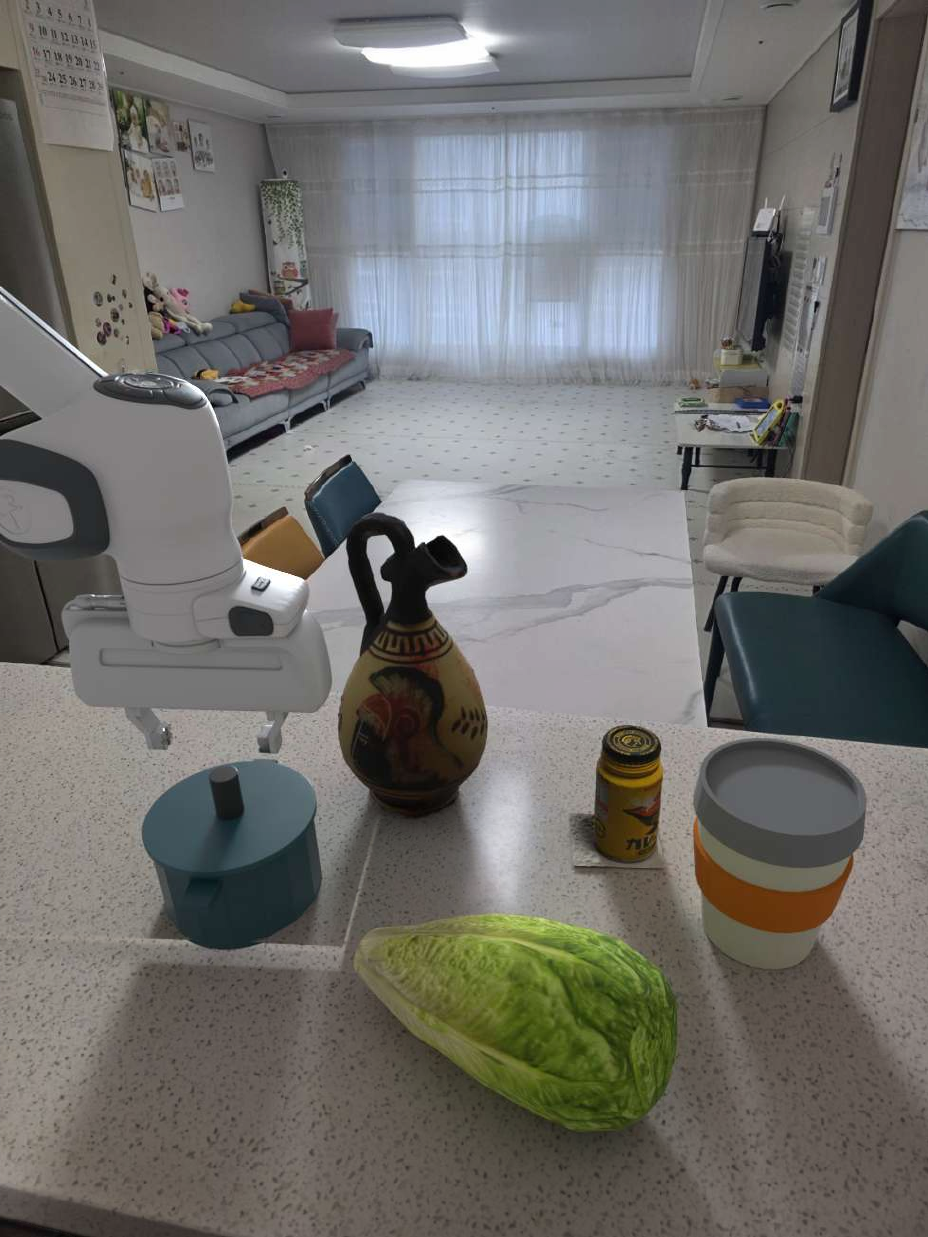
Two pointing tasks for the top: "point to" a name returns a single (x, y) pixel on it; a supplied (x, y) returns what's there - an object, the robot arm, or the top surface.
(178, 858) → the pot lid
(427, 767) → the ceramic jug
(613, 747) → the condiment
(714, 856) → the reusable coffee cup
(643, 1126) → the top surface
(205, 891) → the pot
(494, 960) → the lettuce
